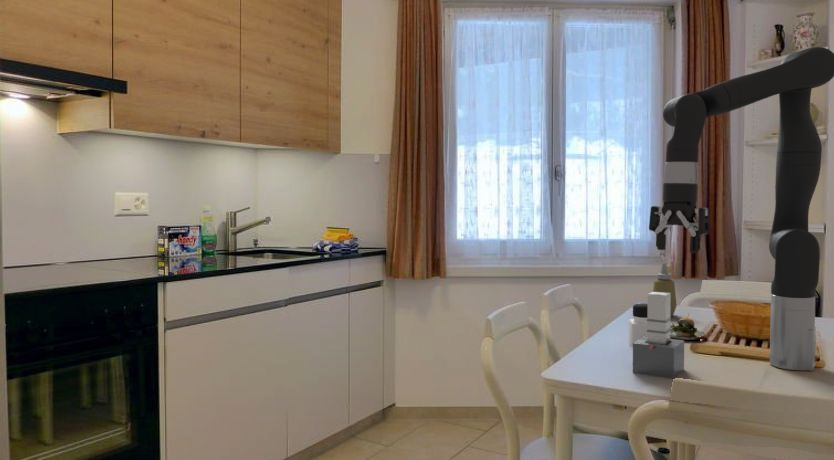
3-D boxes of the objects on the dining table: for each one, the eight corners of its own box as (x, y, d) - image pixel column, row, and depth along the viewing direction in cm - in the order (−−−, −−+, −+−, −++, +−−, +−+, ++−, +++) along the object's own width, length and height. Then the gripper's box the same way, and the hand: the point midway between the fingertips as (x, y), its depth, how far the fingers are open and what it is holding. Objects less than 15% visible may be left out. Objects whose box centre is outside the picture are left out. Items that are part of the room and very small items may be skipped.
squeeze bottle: (646, 314, 223) (646, 262, 222) (665, 312, 225) (666, 261, 224) (661, 318, 215) (662, 265, 214) (681, 316, 218) (682, 263, 217)
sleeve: (703, 373, 150) (703, 339, 150) (686, 390, 137) (686, 353, 137) (634, 363, 160) (634, 331, 159) (612, 378, 147) (612, 344, 146)
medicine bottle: (660, 351, 172) (660, 306, 171) (632, 350, 173) (632, 305, 173) (655, 344, 179) (656, 302, 178) (629, 344, 180) (629, 301, 180)
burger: (653, 336, 191) (653, 311, 191) (686, 332, 195) (686, 308, 194) (681, 344, 180) (682, 318, 179) (715, 341, 183) (716, 315, 183)
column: (670, 370, 149) (671, 293, 148) (665, 374, 146) (666, 295, 145) (651, 367, 152) (652, 291, 151) (646, 371, 148) (646, 294, 147)
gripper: (718, 182, 147) (714, 253, 148) (663, 182, 158) (660, 248, 159) (699, 181, 142) (695, 254, 143) (644, 181, 154) (641, 249, 155)
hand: (677, 251), depth 151 cm, fingers open, 8 cm apart
